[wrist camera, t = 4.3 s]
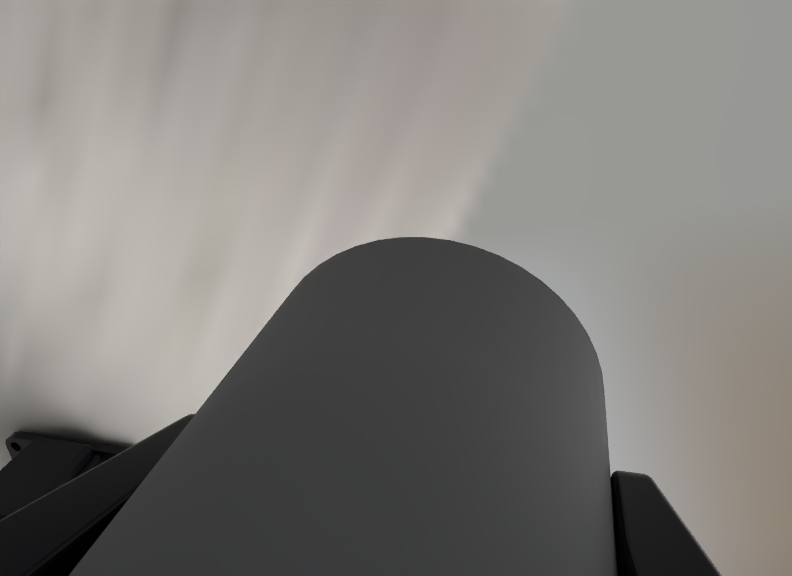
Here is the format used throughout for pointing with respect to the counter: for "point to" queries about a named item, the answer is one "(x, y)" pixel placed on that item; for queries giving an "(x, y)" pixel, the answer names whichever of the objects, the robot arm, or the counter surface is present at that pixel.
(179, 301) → the counter surface
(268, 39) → the counter surface
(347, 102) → the counter surface
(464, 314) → the lens
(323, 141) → the counter surface
